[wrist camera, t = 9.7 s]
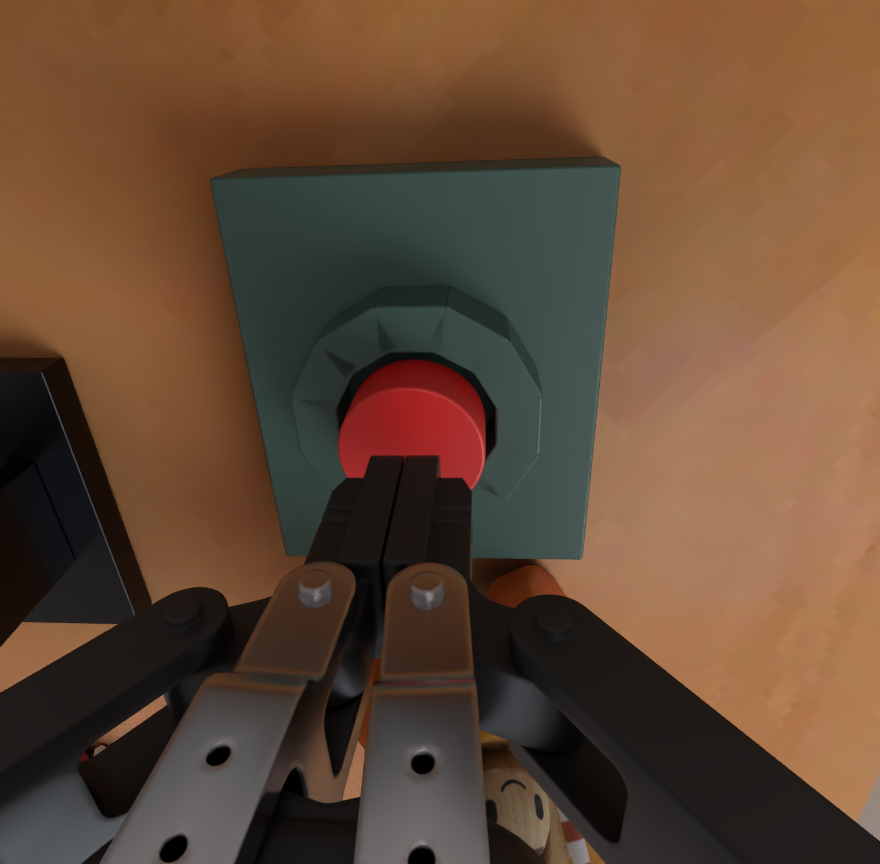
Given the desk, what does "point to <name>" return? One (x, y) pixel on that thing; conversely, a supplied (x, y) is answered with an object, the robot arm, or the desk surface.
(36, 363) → the bracket
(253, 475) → the desk surface
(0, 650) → the desk surface
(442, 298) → the button block
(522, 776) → the toy helicopter
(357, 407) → the button
